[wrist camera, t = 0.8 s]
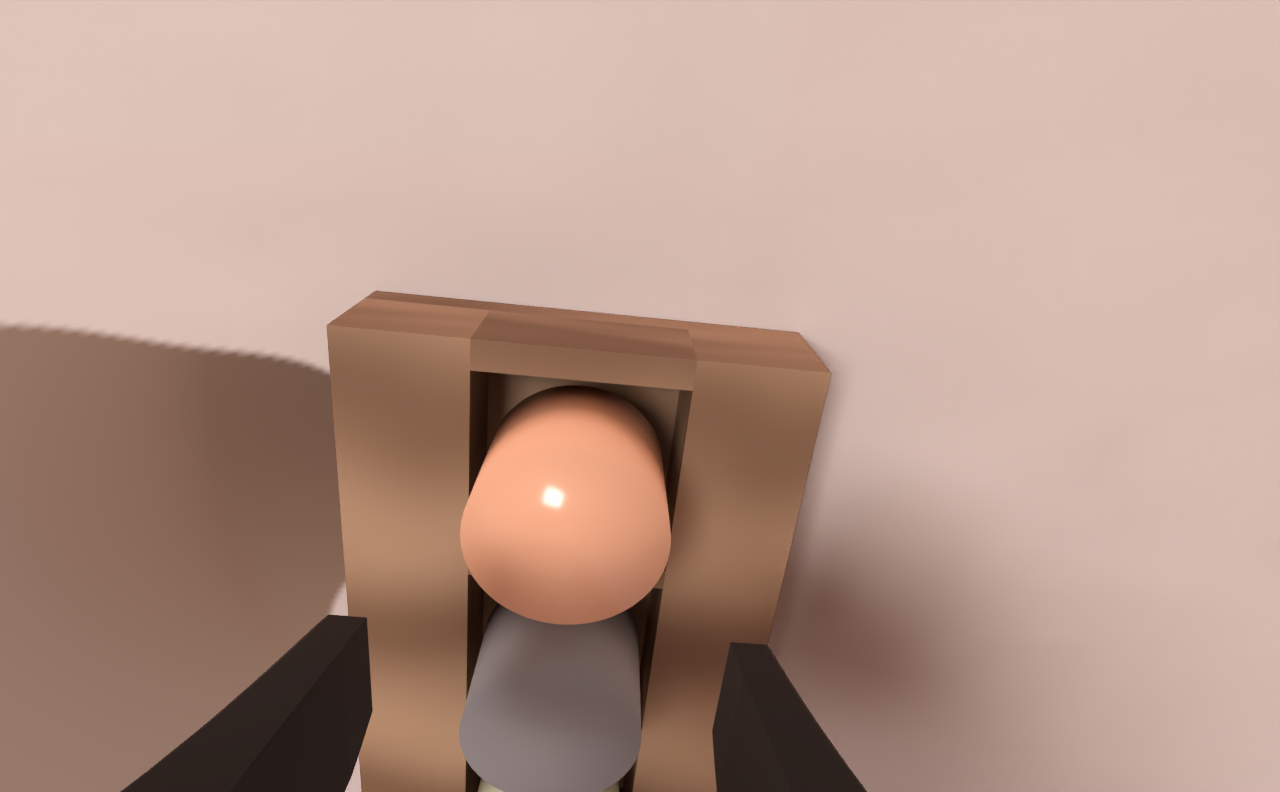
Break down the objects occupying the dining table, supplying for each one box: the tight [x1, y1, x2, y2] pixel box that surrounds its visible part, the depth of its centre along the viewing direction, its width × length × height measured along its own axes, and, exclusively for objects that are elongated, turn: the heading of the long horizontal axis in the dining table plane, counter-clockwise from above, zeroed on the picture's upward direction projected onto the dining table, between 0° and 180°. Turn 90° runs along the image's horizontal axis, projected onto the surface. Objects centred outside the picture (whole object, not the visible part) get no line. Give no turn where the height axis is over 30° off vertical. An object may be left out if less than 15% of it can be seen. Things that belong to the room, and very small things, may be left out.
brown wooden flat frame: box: [327, 291, 831, 792], centre depth 21 cm, size 19×12×3 cm, turn 174°
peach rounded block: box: [460, 385, 671, 625], centre depth 16 cm, size 5×5×4 cm
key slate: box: [459, 603, 641, 792], centre depth 18 cm, size 5×5×4 cm
